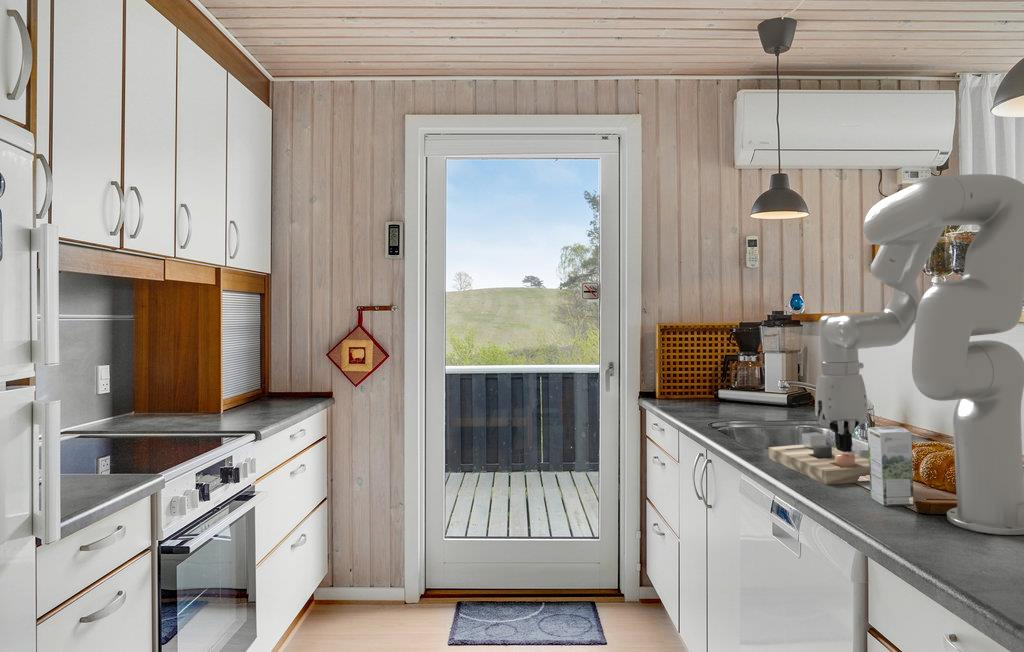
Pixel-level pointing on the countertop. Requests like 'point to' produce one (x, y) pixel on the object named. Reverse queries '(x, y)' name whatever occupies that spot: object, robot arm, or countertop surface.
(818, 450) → the black button
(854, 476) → the light wooden board
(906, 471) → the syrup box
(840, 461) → the terracotta button
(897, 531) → the countertop surface
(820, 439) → the steel slider
